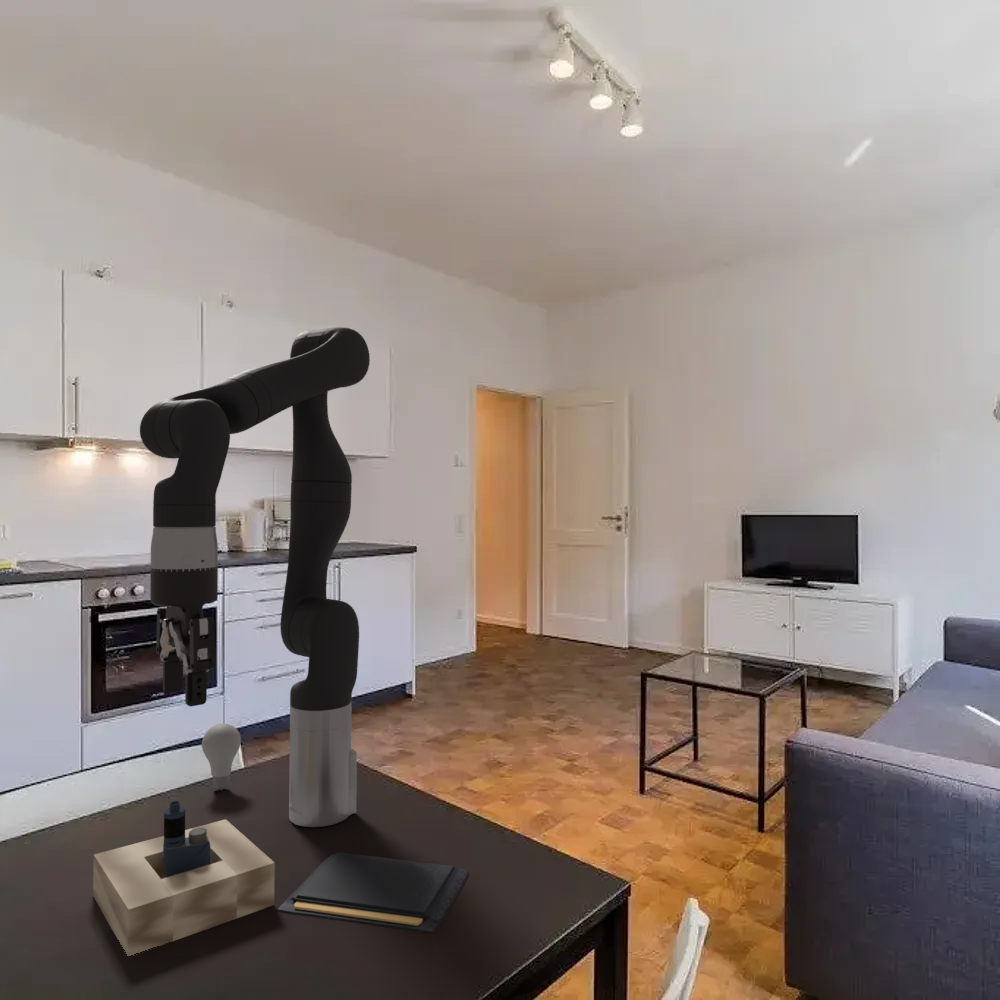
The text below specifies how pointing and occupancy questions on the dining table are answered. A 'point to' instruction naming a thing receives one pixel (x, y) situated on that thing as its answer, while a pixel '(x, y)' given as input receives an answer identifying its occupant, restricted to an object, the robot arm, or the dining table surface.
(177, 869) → the vaping device
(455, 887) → the black book
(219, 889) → the holder block
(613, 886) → the dining table surface
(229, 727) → the lightbulb
